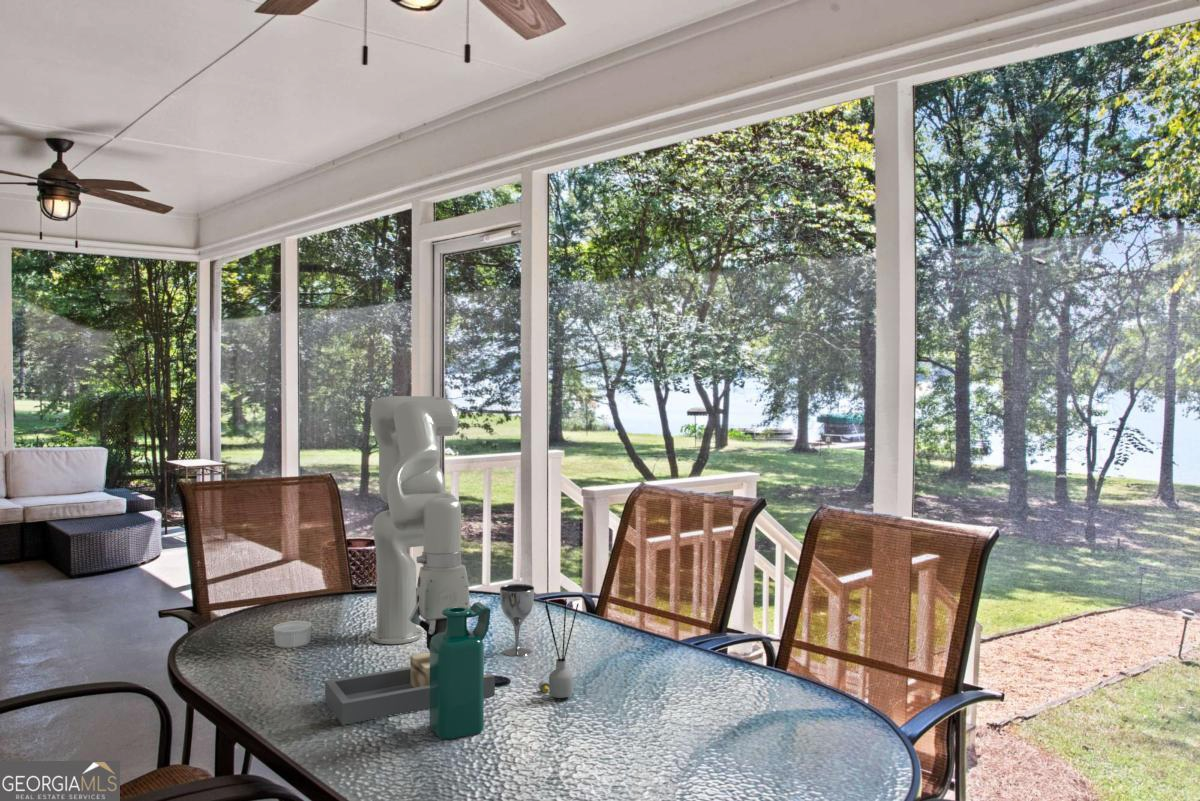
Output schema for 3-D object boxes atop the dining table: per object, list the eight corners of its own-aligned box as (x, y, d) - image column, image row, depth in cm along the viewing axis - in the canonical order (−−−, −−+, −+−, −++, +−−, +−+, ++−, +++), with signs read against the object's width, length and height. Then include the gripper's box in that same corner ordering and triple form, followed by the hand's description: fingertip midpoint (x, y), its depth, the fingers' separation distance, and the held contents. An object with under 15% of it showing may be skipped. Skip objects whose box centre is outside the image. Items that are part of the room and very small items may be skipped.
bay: (325, 701, 167) (325, 679, 167) (468, 675, 183) (468, 656, 182) (342, 725, 155) (342, 702, 155) (494, 696, 170) (494, 675, 170)
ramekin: (304, 649, 201) (304, 630, 201) (266, 648, 201) (266, 630, 201) (317, 638, 210) (317, 620, 210) (281, 638, 210) (281, 620, 210)
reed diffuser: (586, 698, 169) (586, 598, 169) (565, 709, 164) (565, 605, 163) (546, 687, 175) (546, 591, 175) (524, 697, 170) (524, 597, 169)
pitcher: (440, 742, 148) (440, 616, 148) (426, 725, 156) (427, 605, 155) (493, 732, 153) (494, 609, 152) (478, 716, 160) (478, 599, 160)
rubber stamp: (410, 684, 174) (410, 615, 174) (456, 676, 179) (456, 609, 179) (426, 699, 165) (426, 627, 165) (474, 690, 171) (474, 620, 170)
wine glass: (536, 647, 203) (536, 584, 203) (530, 657, 195) (530, 592, 195) (503, 646, 204) (503, 583, 203) (496, 656, 196) (496, 591, 196)
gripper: (408, 567, 164) (408, 662, 165) (487, 559, 173) (487, 649, 173) (396, 560, 171) (396, 651, 171) (473, 553, 179) (473, 640, 179)
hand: (442, 649), depth 172 cm, fingers closed on rubber stamp, 3 cm apart
